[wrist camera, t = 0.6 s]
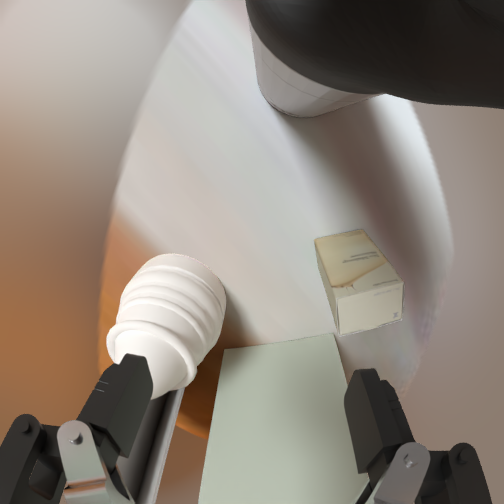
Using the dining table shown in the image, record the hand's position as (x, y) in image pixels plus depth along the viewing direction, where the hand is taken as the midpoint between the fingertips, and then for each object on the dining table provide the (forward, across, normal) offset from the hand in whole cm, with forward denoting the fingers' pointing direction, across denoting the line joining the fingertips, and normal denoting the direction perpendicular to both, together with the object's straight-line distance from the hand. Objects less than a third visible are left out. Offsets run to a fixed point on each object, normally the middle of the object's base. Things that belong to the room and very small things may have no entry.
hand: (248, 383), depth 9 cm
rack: (+24, -5, +24) cm, 34 cm away
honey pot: (+23, +10, +11) cm, 28 cm away
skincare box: (+23, -10, +3) cm, 25 cm away
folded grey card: (+24, +14, +26) cm, 38 cm away
